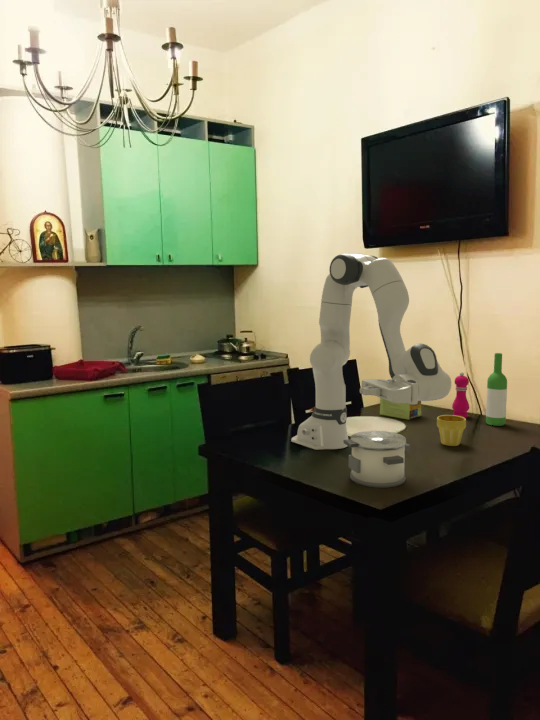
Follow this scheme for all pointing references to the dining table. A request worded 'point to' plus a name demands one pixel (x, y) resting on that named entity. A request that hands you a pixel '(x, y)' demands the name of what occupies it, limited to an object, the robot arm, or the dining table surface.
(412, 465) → the dining table surface
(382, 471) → the cooker
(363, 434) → the lid
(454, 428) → the plant pot
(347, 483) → the dining table surface
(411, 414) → the protein box
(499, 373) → the wine bottle
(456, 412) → the pepper mill
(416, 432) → the dining table surface
